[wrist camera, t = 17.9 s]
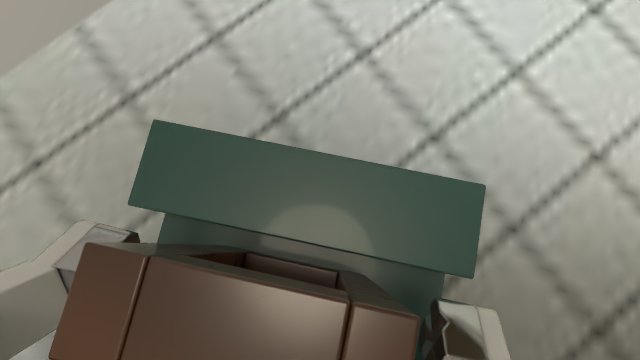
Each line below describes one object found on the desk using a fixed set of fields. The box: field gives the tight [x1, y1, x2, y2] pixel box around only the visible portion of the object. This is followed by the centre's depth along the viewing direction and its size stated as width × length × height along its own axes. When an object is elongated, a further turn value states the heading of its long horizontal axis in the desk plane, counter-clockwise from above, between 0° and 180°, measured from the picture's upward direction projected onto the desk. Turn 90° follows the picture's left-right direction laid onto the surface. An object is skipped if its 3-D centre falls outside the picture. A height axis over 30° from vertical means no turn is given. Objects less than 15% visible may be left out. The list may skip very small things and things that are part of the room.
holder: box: [128, 120, 486, 360], centre depth 14 cm, size 10×12×4 cm
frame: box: [49, 242, 420, 360], centre depth 10 cm, size 2×6×9 cm, turn 78°
